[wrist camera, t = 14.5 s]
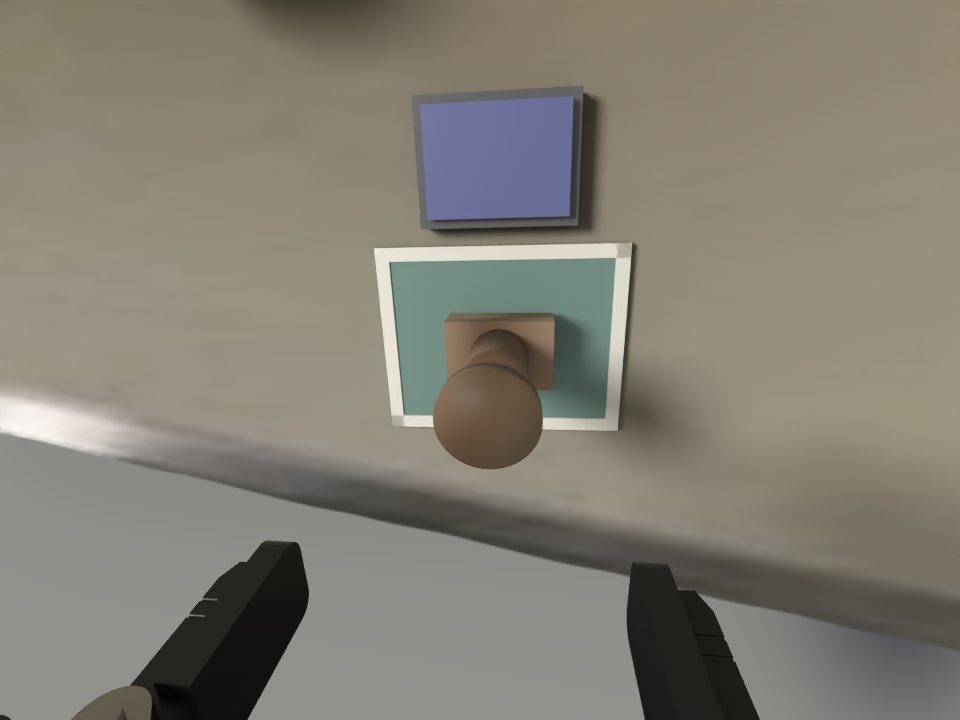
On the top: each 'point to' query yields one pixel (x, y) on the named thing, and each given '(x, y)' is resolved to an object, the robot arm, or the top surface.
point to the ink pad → (499, 157)
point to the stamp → (494, 386)
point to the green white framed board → (508, 289)
